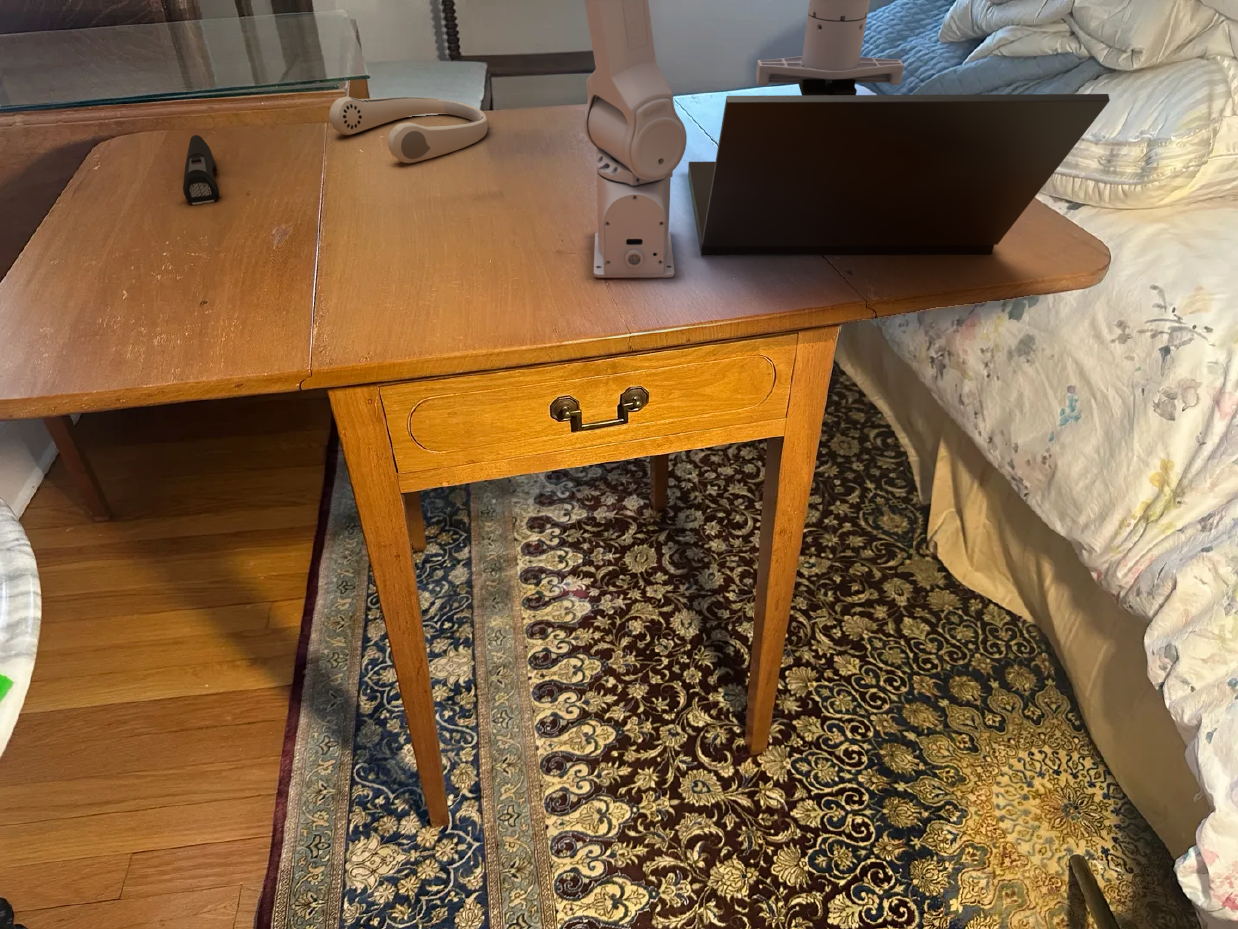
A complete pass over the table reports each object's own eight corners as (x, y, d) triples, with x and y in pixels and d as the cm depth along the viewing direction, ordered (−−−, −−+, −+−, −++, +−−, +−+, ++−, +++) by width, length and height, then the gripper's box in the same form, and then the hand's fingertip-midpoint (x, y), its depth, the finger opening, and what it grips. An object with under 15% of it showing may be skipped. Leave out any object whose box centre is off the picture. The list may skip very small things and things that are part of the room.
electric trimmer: (219, 156, 111) (211, 131, 109) (221, 200, 100) (212, 174, 98) (188, 160, 110) (179, 135, 108) (186, 206, 99) (177, 178, 97)
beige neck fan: (439, 104, 125) (434, 68, 122) (512, 134, 116) (509, 96, 113) (329, 136, 116) (321, 98, 112) (400, 171, 107) (393, 131, 103)
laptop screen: (726, 94, 68) (726, 102, 67) (1108, 92, 68) (1110, 100, 67) (702, 239, 88) (702, 246, 87) (996, 237, 88) (997, 244, 87)
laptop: (687, 175, 105) (688, 160, 104) (934, 174, 105) (937, 159, 104) (701, 255, 89) (702, 238, 88) (991, 254, 89) (996, 237, 88)
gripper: (901, 4, 87) (875, 139, 96) (758, 4, 87) (746, 139, 96) (919, 21, 82) (891, 163, 91) (767, 22, 82) (753, 163, 91)
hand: (817, 152), depth 93 cm, fingers closed
